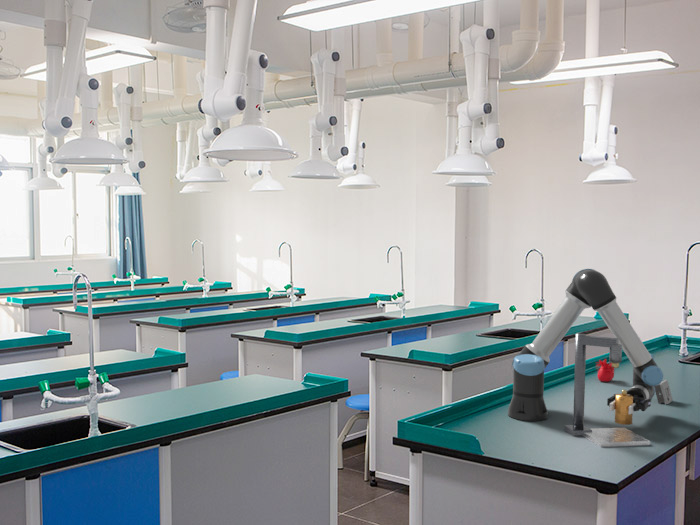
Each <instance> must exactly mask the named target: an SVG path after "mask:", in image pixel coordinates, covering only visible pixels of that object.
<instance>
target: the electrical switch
mask: <svg viewBox="0 0 700 525" xmlns="http://www.w3.org/2000/svg"><path fill="white" fill-rule="evenodd" d="M669 384H670V383H669V382H668V380H667V379H663V380H662V382H661V383H660V384H659V385H656V386H654V387H655V395H656V400H657V403H658V404H664V405H665V404H667V405H669V404H670V403H672V402H673V400H674V398H673V394H672V392H671V389H670V388H671V387H670V385H669Z"/></svg>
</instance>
